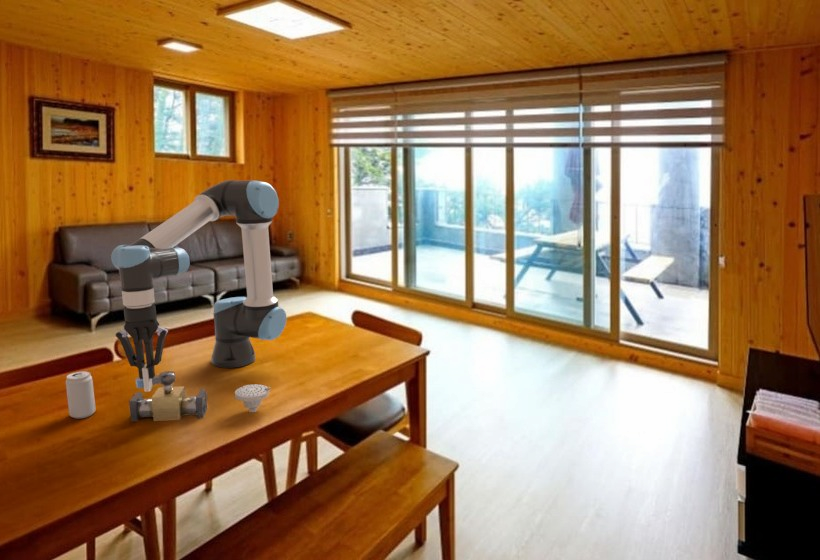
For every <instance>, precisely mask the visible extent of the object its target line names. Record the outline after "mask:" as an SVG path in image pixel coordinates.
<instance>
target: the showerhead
mask: <svg viewBox="0 0 820 560" xmlns="http://www.w3.org/2000/svg"><path fill="white" fill-rule="evenodd" d="M270 390H271V387H270V386H267V385H263V384H259V383H258V384H256V383H254V384H251V383H250V384H245V385H243V386H241V387H239V388H237V389H236V390H235V391H234V398H235V399H236V400H237V401H240V402H243V406H244V407H245V408H247V409H248V412H249V413H256V412H257V411H258V410H257V408H258V407H259V406H261V405H262V400H263V399H266V398H268V396H269V395H270Z"/></svg>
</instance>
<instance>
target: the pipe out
mask: <svg viewBox="0 0 820 560" xmlns="http://www.w3.org/2000/svg"><path fill="white" fill-rule="evenodd" d="M143 397H144V396H143V392H140V391H139V392H135V394H134V395H133V396H132V397H131V399H130V400H129V402H128V403H129V414H130V422H131V423H132V422H133V423H134V421H135V422H138V421H139V420H140V418H152V417H153V408H152V398H143Z"/></svg>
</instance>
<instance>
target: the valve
mask: <svg viewBox="0 0 820 560" xmlns="http://www.w3.org/2000/svg"><path fill="white" fill-rule="evenodd" d="M182 397H186V389H185V386H174V383H171V384H166V385H164V384H162V387H158V388H157V389H156V391H155V393H153V394H152V396H151V399H152V408H153V419H152V420H153V422H162V421H163V422H165V421H180V420H181V419H182V417H183V416H184V415H182V414H181V409H180V405H181V399H182Z"/></svg>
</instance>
